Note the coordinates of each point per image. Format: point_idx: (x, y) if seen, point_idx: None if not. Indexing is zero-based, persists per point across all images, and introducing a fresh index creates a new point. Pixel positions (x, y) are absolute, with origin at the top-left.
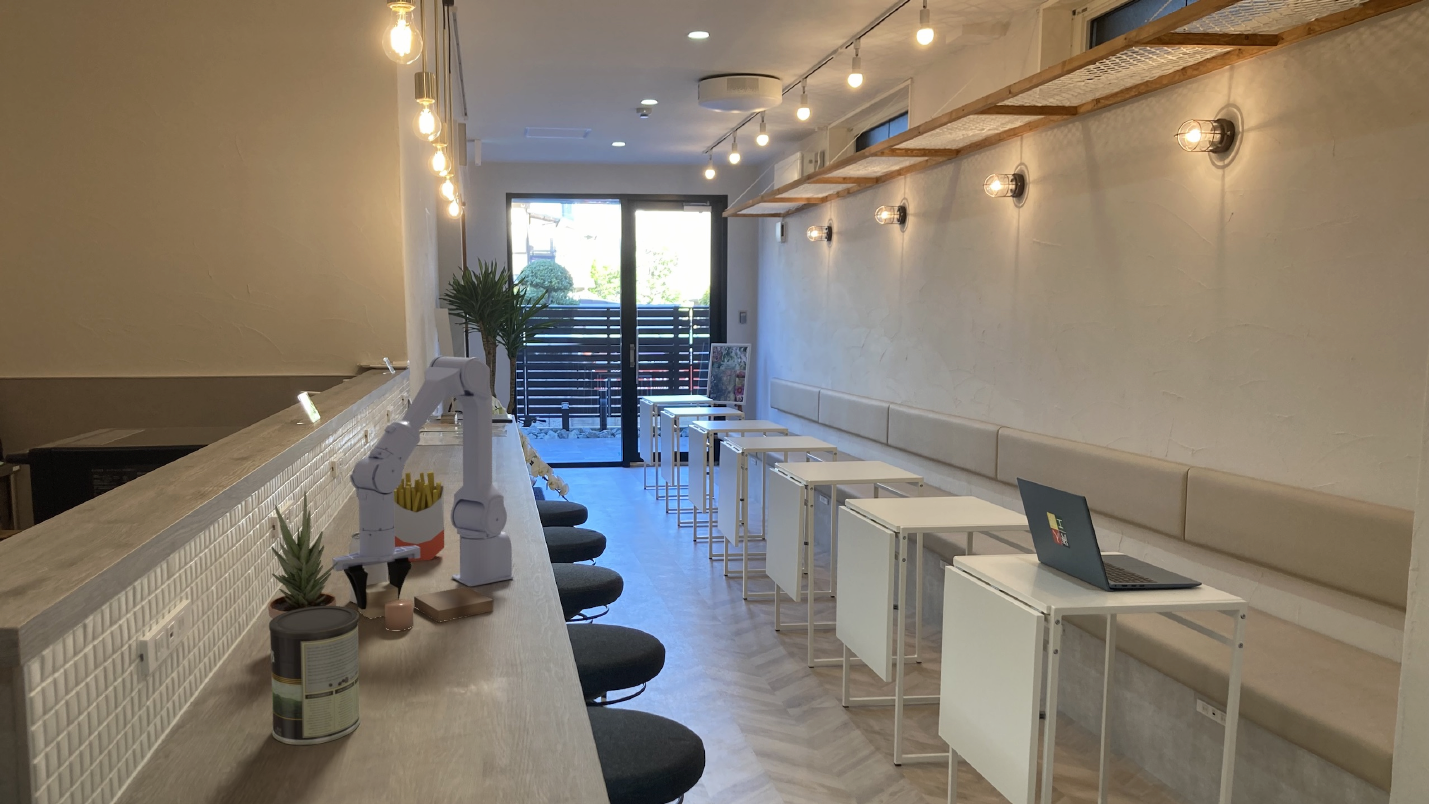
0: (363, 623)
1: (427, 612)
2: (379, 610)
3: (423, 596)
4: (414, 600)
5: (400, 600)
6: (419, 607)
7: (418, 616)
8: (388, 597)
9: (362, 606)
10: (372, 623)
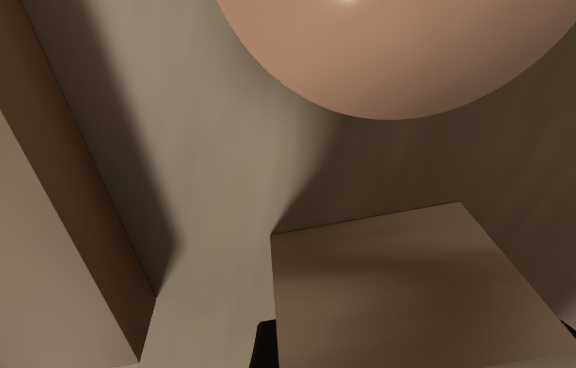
0: (523, 145)
1: (61, 123)
2: (409, 243)
3: (68, 346)
4: (143, 335)
5: (351, 61)
6: (121, 252)
7: (145, 129)
8: (363, 320)
9: None
10: (478, 119)
